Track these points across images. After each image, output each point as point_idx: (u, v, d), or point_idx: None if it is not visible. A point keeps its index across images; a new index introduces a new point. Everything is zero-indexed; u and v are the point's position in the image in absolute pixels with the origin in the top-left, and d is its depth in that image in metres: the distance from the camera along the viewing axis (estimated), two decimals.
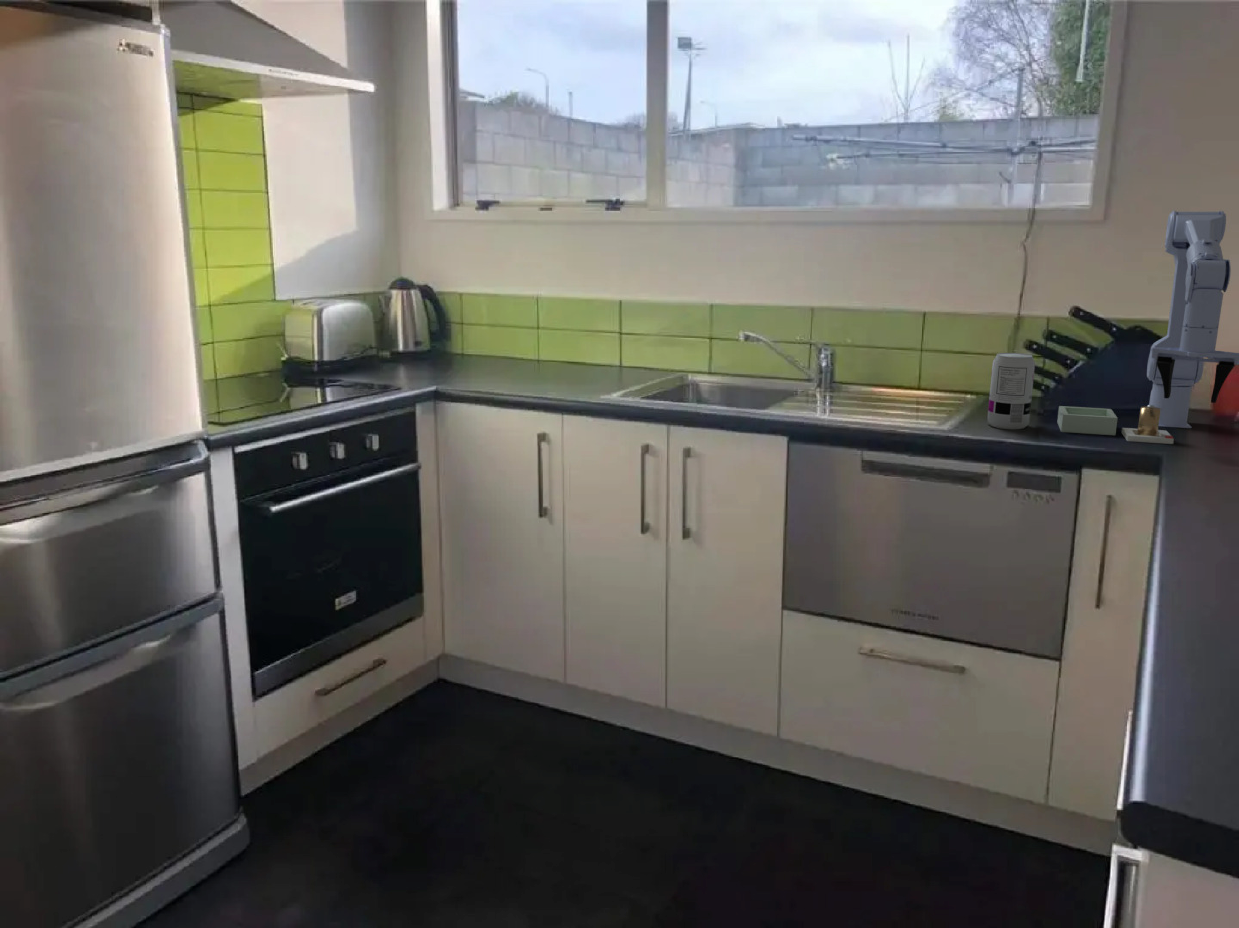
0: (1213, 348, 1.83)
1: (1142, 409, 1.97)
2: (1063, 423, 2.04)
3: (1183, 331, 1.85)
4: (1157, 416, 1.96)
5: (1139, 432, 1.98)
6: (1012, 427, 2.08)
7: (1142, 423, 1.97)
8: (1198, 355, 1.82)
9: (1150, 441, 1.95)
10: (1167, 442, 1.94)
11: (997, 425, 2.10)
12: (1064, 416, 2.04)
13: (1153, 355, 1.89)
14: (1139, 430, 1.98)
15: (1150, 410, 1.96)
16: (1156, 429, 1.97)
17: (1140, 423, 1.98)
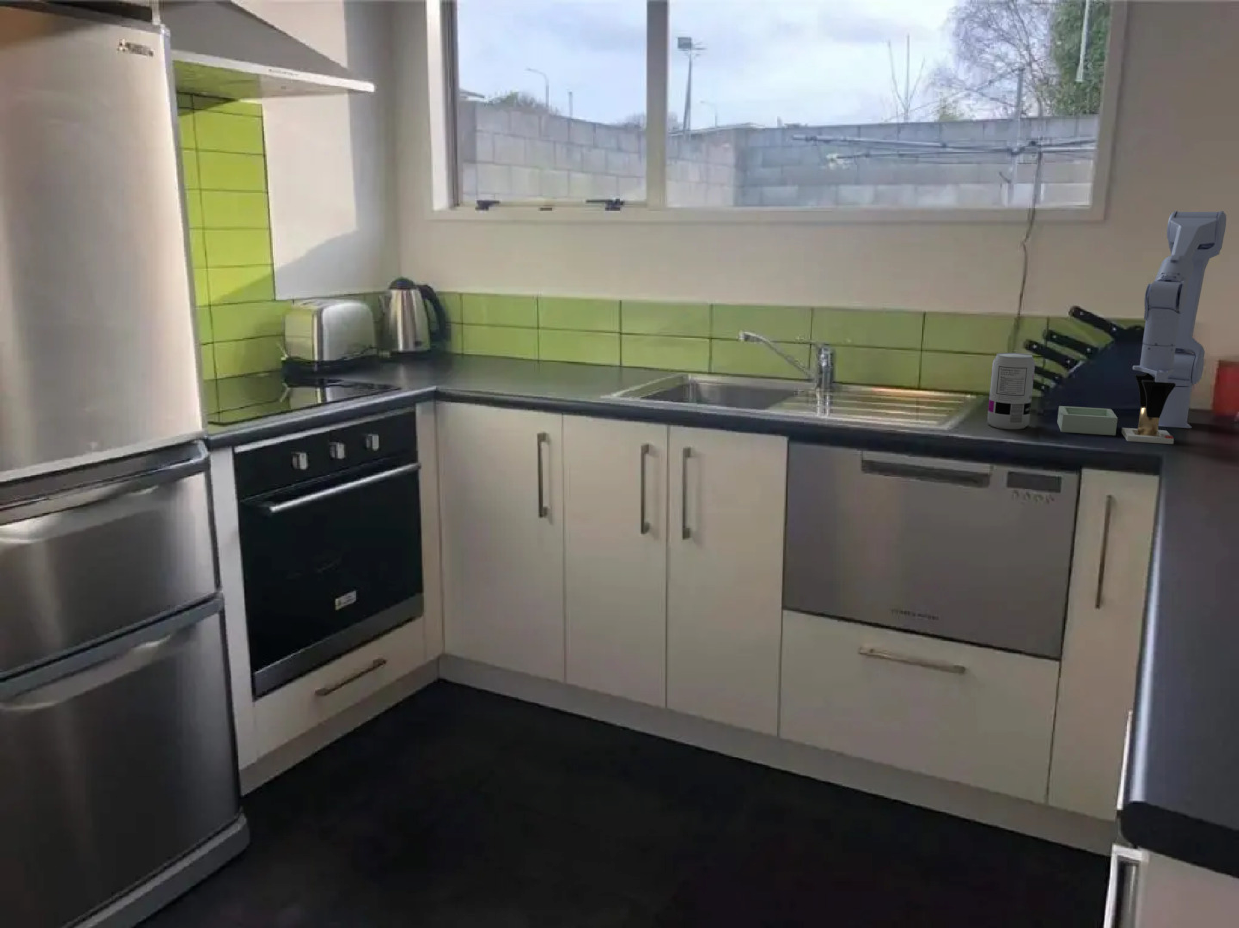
0: (1153, 365, 1.93)
1: (1142, 409, 1.97)
2: (1063, 423, 2.04)
3: None
4: None
5: (1139, 432, 1.98)
6: (1012, 427, 2.08)
7: (1142, 423, 1.97)
8: (1134, 368, 1.96)
9: (1150, 441, 1.95)
10: (1167, 442, 1.94)
11: (997, 425, 2.10)
12: (1064, 416, 2.04)
13: None
14: (1139, 430, 1.98)
15: None
16: (1156, 429, 1.97)
17: (1140, 423, 1.98)
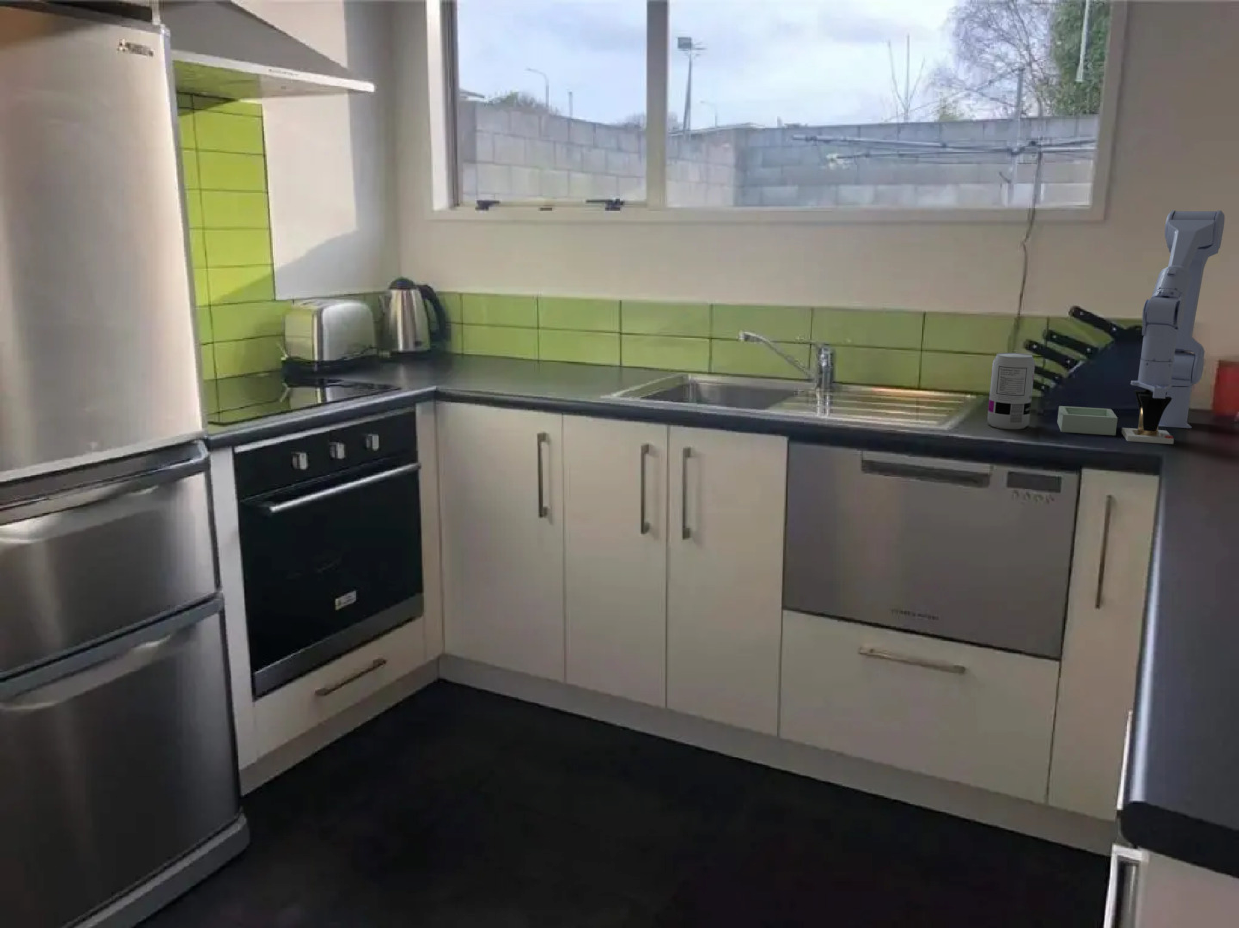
0: (1151, 380, 1.94)
1: None
2: (1063, 423, 2.04)
3: None
4: None
5: (1139, 432, 1.98)
6: (1012, 427, 2.08)
7: (1142, 423, 1.97)
8: (1132, 383, 1.97)
9: (1150, 441, 1.95)
10: (1167, 442, 1.94)
11: (997, 425, 2.10)
12: (1064, 416, 2.04)
13: None
14: (1139, 430, 1.98)
15: None
16: None
17: (1140, 423, 1.98)
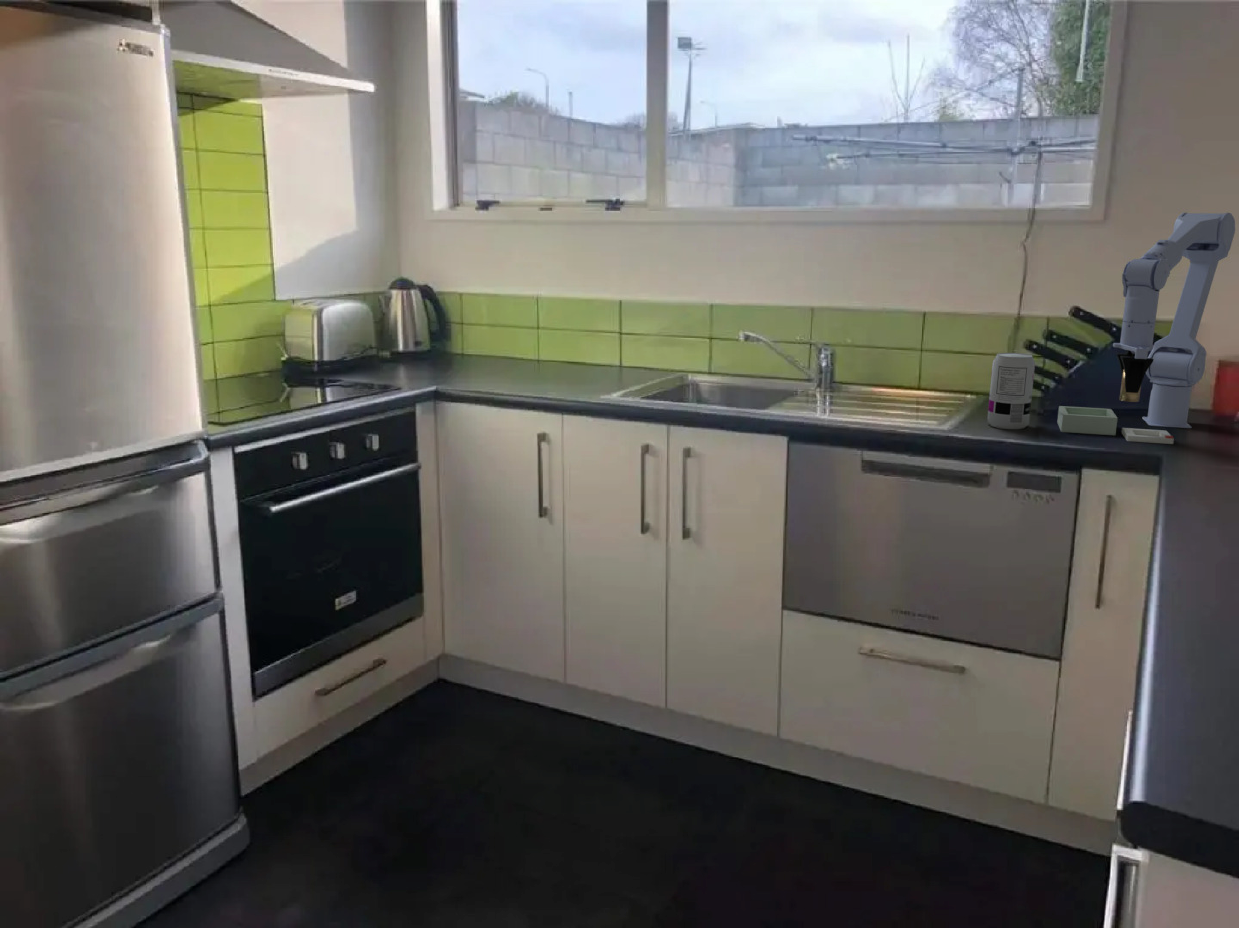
0: (1133, 342, 1.95)
1: None
2: (1063, 423, 2.04)
3: None
4: None
5: (1121, 394, 2.00)
6: (1012, 427, 2.08)
7: (1124, 385, 1.99)
8: (1114, 345, 1.98)
9: (1150, 441, 1.95)
10: (1167, 442, 1.94)
11: (997, 425, 2.10)
12: (1064, 416, 2.04)
13: None
14: (1121, 392, 2.00)
15: None
16: (1138, 391, 1.98)
17: (1122, 385, 1.99)
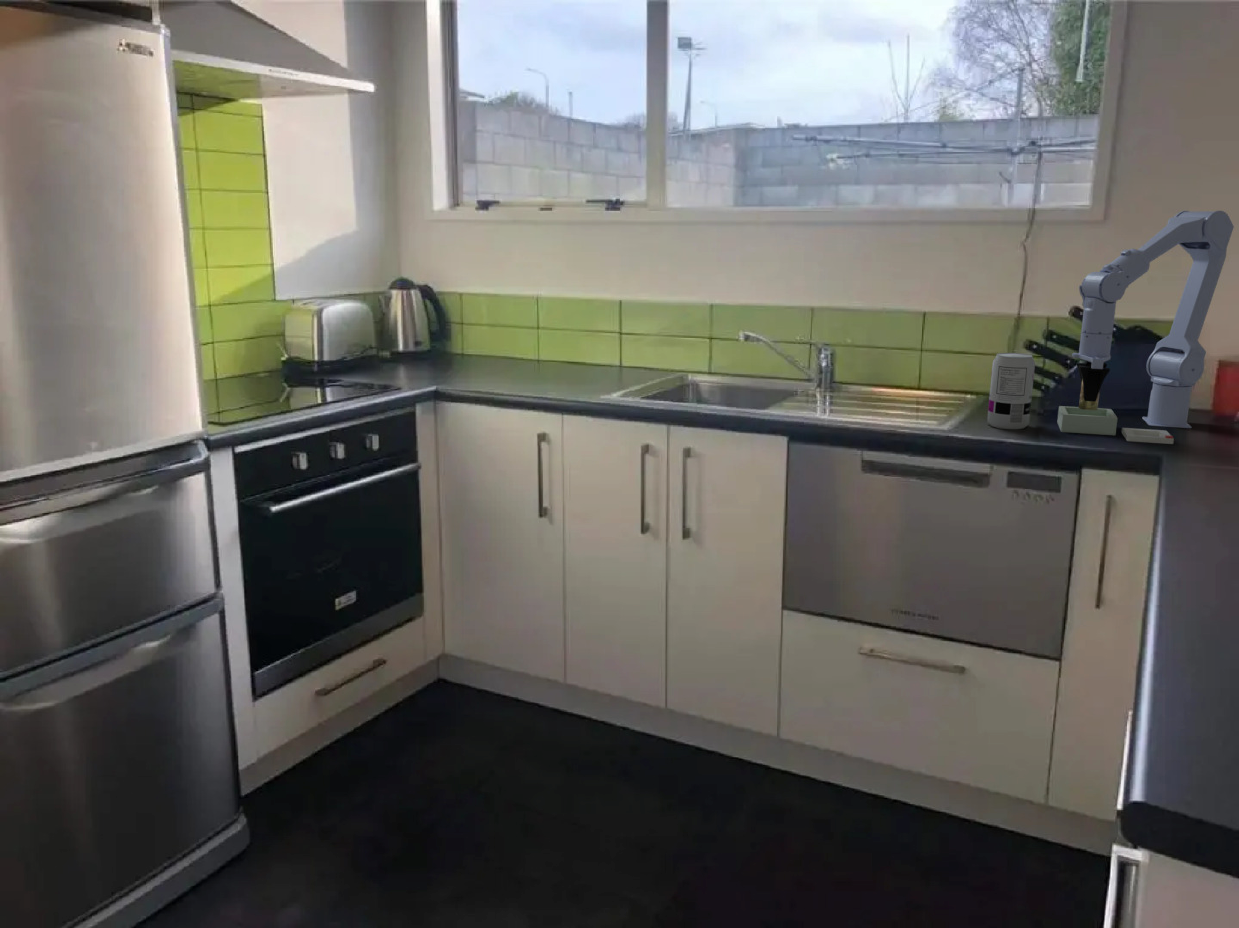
0: (1090, 352, 2.01)
1: None
2: (1063, 423, 2.04)
3: None
4: None
5: (1080, 402, 2.06)
6: (1012, 427, 2.08)
7: None
8: (1073, 355, 2.04)
9: (1150, 441, 1.95)
10: (1167, 442, 1.94)
11: (997, 425, 2.10)
12: (1064, 416, 2.04)
13: None
14: (1080, 400, 2.06)
15: None
16: (1096, 399, 2.04)
17: (1081, 394, 2.06)
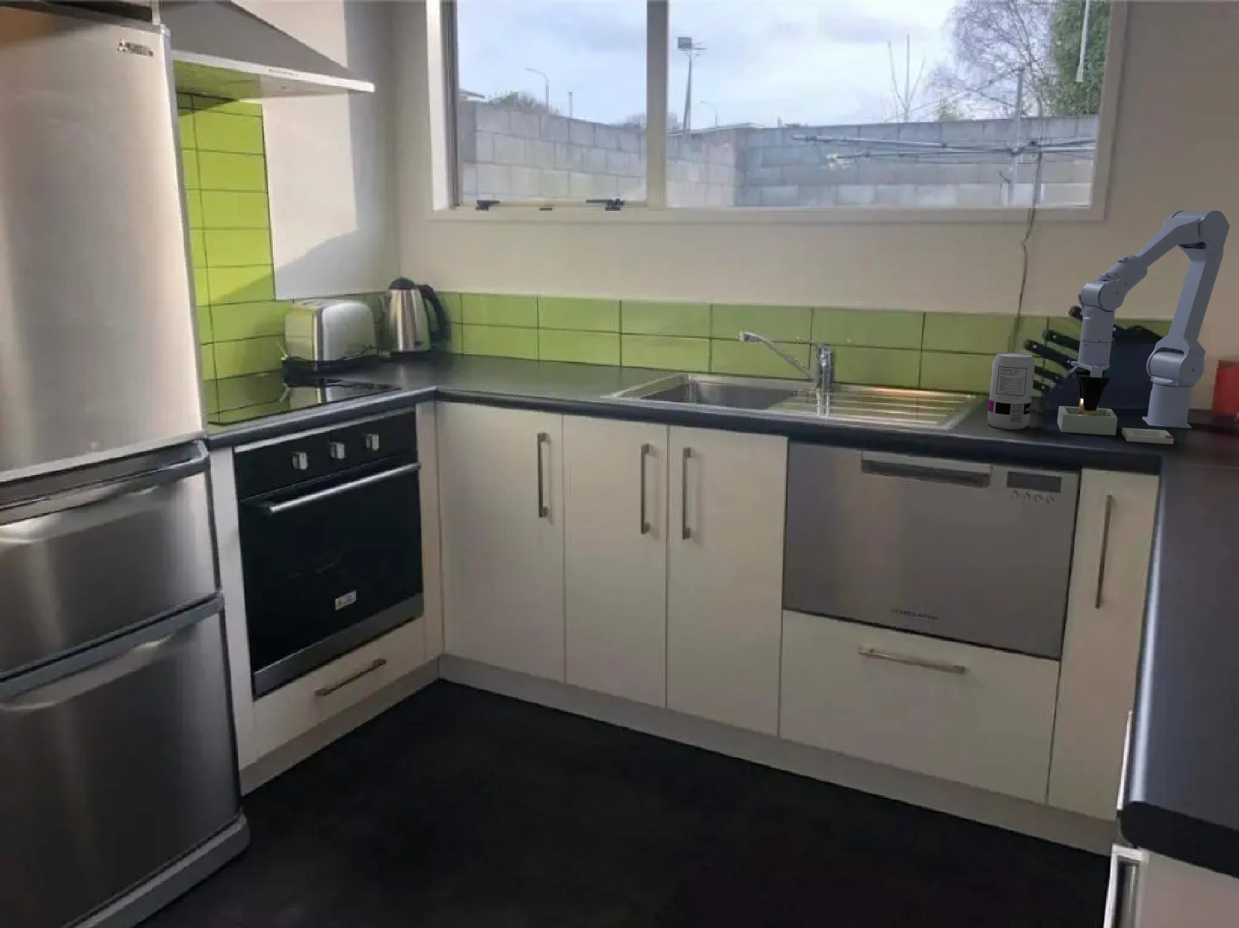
0: (1089, 360, 2.02)
1: (1081, 400, 2.06)
2: (1063, 423, 2.04)
3: None
4: None
5: None
6: (1012, 427, 2.08)
7: (1081, 413, 2.06)
8: (1072, 364, 2.05)
9: (1150, 441, 1.95)
10: (1167, 442, 1.94)
11: (997, 425, 2.10)
12: (1064, 416, 2.04)
13: None
14: None
15: None
16: None
17: (1079, 413, 2.07)
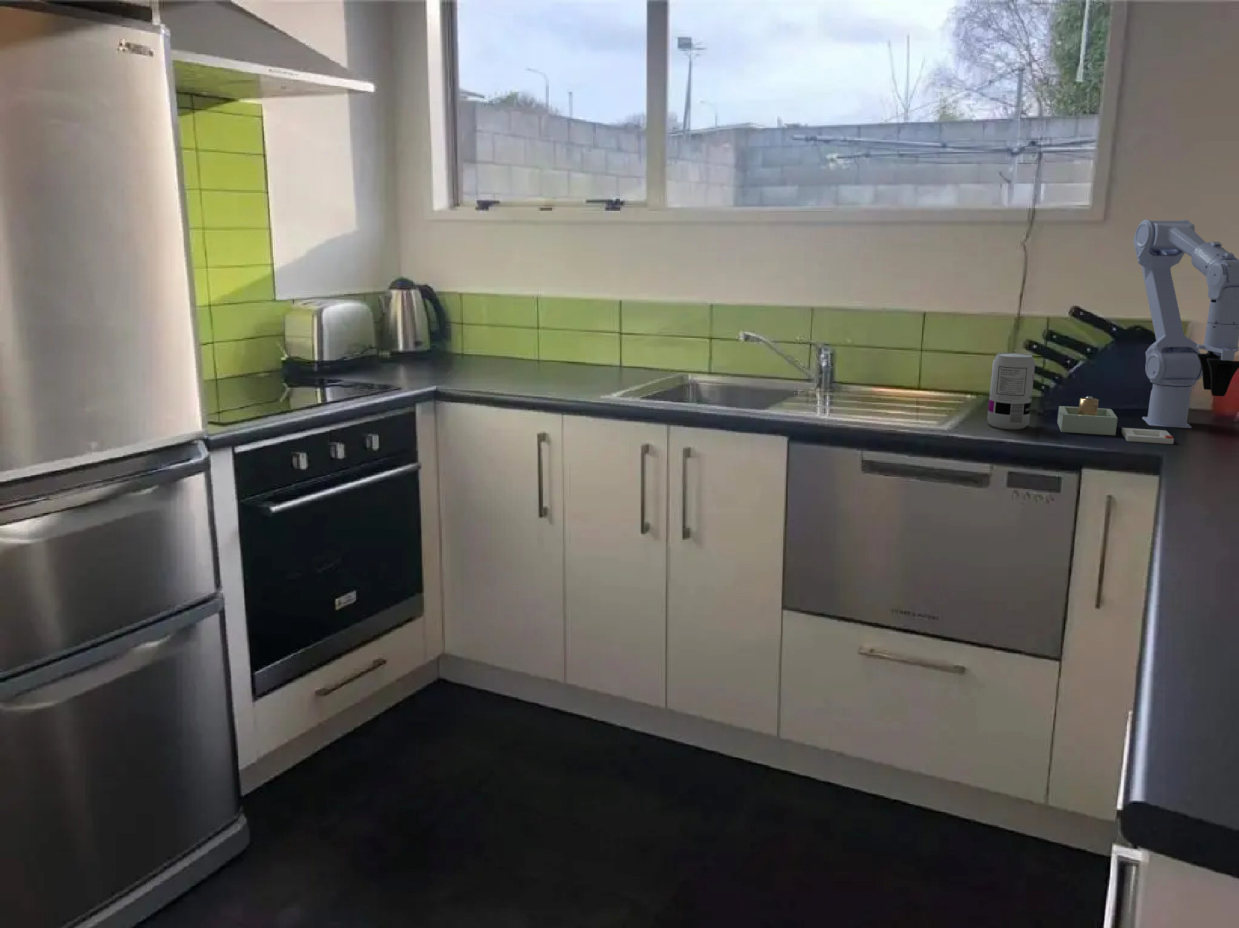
0: (1218, 343, 1.93)
1: (1081, 400, 2.06)
2: (1063, 423, 2.04)
3: None
4: (1095, 407, 2.05)
5: None
6: (1012, 427, 2.08)
7: (1081, 413, 2.06)
8: (1198, 347, 1.96)
9: (1150, 441, 1.95)
10: (1167, 442, 1.94)
11: (997, 425, 2.10)
12: (1064, 416, 2.04)
13: None
14: None
15: (1088, 401, 2.05)
16: None
17: (1079, 413, 2.07)
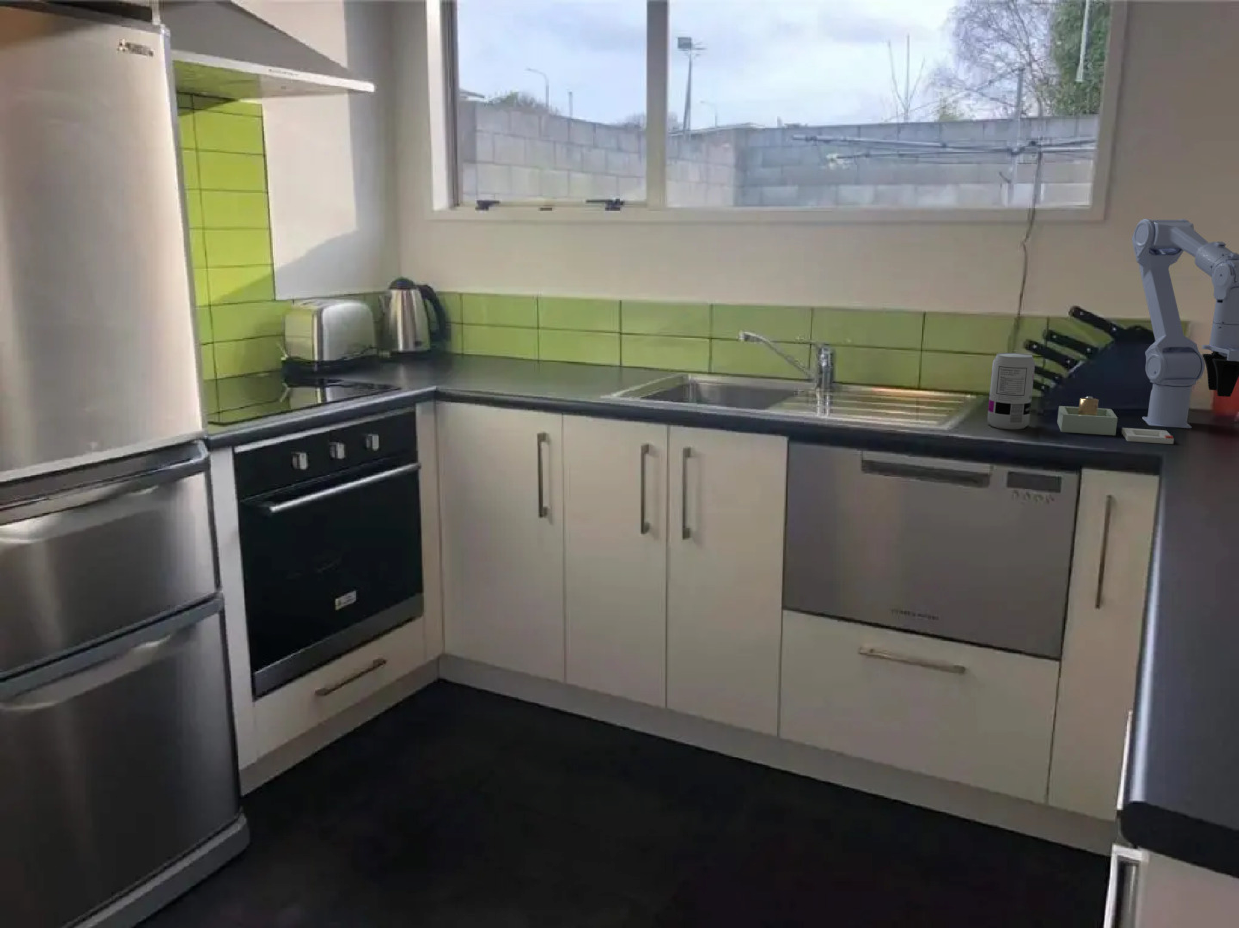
0: (1224, 343, 1.93)
1: (1081, 400, 2.06)
2: (1063, 423, 2.04)
3: None
4: (1095, 407, 2.05)
5: None
6: (1012, 427, 2.08)
7: (1081, 414, 2.06)
8: (1204, 347, 1.96)
9: (1150, 441, 1.95)
10: (1167, 442, 1.94)
11: (997, 425, 2.10)
12: (1064, 416, 2.04)
13: None
14: None
15: (1088, 401, 2.05)
16: None
17: (1079, 413, 2.07)
